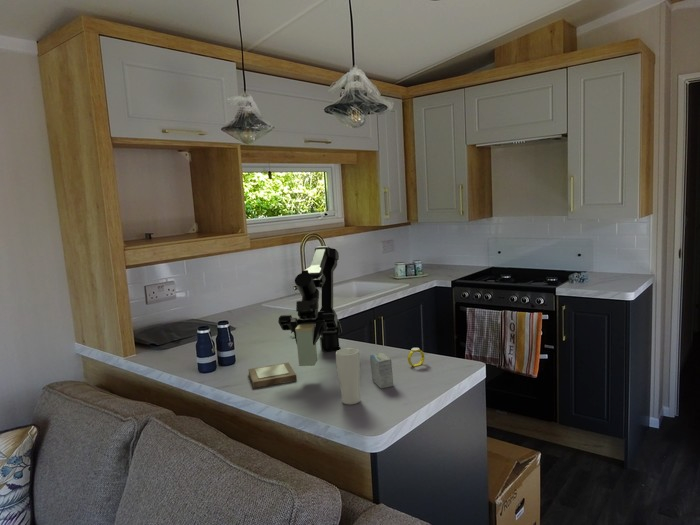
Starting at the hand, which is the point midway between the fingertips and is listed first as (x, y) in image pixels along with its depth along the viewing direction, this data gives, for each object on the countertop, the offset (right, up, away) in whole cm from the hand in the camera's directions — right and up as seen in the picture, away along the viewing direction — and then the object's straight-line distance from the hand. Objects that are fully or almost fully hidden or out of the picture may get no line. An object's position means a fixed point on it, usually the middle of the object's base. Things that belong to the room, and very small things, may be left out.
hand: (305, 344), depth 170 cm
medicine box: (+24, -12, -5) cm, 27 cm away
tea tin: (+1, -6, +2) cm, 7 cm away
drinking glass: (+15, -14, -17) cm, 26 cm away
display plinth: (-12, -12, +9) cm, 19 cm away
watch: (+37, -9, +9) cm, 39 cm away
